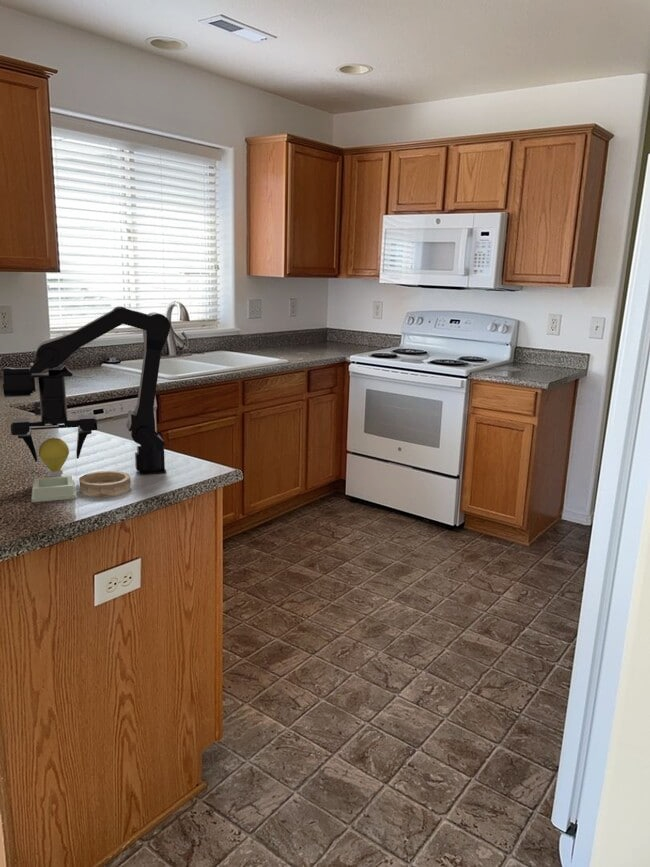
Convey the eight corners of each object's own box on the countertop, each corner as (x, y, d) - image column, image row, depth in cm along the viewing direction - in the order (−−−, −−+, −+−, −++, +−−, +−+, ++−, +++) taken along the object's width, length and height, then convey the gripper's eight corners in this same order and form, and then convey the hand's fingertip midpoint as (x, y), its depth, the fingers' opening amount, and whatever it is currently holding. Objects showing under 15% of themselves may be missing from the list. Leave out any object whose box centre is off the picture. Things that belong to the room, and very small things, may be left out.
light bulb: (76, 478, 162) (73, 438, 159) (49, 484, 157) (46, 443, 154) (62, 473, 166) (59, 433, 164) (35, 478, 161) (32, 438, 159)
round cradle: (127, 480, 161) (127, 469, 161) (132, 494, 151) (132, 482, 151) (79, 484, 157) (78, 473, 157) (81, 499, 147) (80, 487, 147)
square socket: (74, 486, 156) (73, 474, 155) (76, 498, 148) (75, 486, 147) (32, 489, 153) (31, 478, 152) (31, 502, 145) (30, 490, 144)
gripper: (92, 388, 168) (96, 448, 171) (10, 391, 161) (15, 454, 164) (95, 396, 158) (99, 460, 161) (8, 399, 151) (13, 466, 154)
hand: (57, 459), depth 160 cm, fingers open, 9 cm apart
